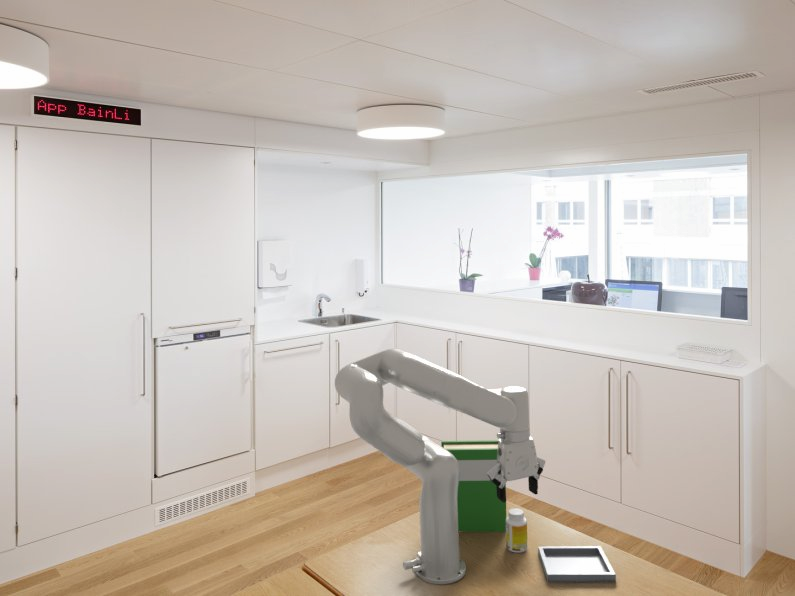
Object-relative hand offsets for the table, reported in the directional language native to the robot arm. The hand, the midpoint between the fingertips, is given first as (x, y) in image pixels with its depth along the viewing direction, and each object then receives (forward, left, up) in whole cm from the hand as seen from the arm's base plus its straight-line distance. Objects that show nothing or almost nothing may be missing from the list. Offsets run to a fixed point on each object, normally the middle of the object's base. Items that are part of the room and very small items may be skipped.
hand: (517, 496), depth 157 cm
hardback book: (-5, +16, -15) cm, 22 cm away
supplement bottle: (-1, 0, -15) cm, 14 cm away
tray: (+7, -14, -14) cm, 21 cm away
